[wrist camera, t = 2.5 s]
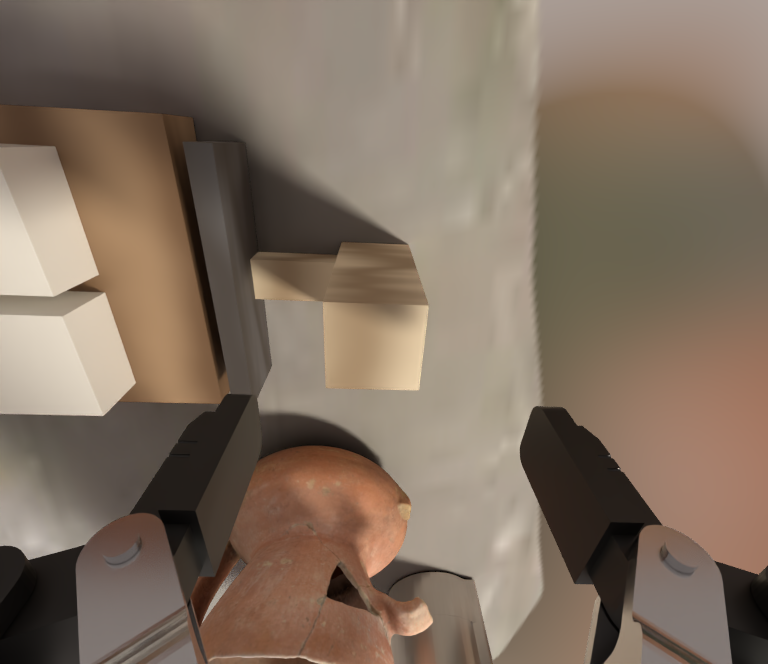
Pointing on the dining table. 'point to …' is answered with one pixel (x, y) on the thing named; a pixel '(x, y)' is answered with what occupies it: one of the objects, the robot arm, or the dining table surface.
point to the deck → (138, 240)
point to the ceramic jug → (310, 565)
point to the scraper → (303, 287)
